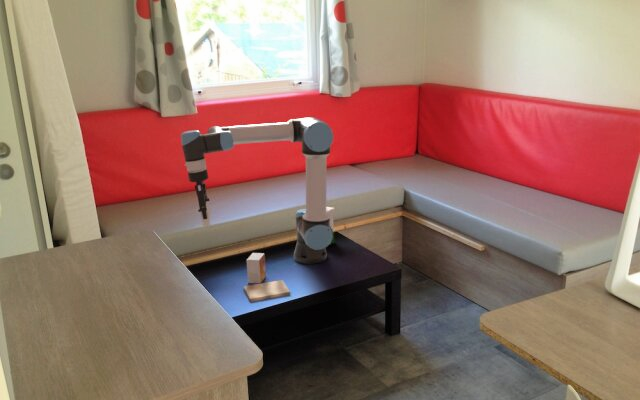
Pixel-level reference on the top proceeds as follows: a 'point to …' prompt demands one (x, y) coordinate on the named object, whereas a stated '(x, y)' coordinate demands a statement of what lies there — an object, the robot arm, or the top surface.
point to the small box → (256, 268)
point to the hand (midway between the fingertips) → (207, 221)
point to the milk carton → (331, 222)
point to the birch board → (266, 290)
